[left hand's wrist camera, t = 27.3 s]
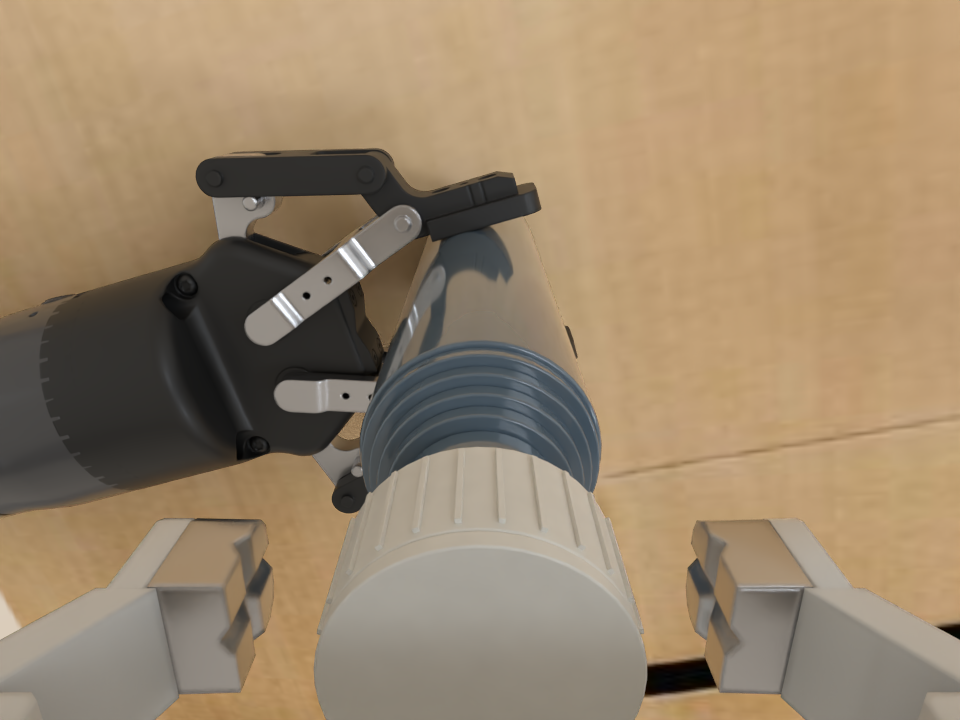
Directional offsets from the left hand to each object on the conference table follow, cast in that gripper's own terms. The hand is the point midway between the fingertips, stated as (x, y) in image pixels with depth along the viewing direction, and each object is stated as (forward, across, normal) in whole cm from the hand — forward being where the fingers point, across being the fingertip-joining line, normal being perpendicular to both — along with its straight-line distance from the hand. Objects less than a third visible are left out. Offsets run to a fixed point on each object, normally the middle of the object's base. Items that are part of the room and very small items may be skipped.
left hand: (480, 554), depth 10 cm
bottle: (+21, 0, 0) cm, 21 cm away
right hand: (+15, -2, -1) cm, 15 cm away
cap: (-2, 0, 0) cm, 2 cm away
